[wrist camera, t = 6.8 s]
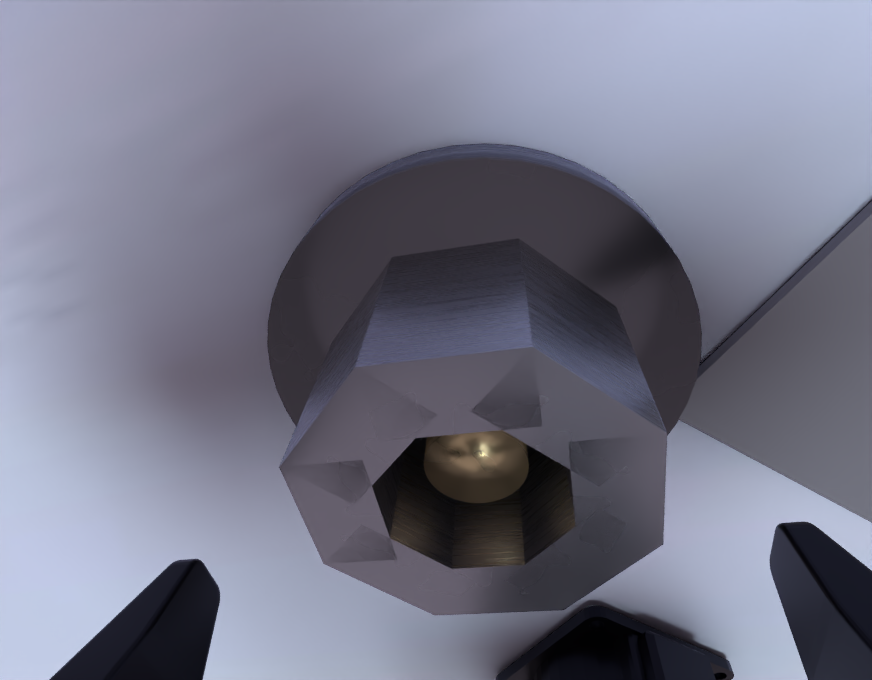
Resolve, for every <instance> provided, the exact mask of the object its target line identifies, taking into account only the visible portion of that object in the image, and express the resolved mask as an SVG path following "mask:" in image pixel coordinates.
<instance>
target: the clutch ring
mask: <svg viewBox="0 0 872 680" xmlns="http://www.w3.org/2000/svg"><path fill="white" fill-rule="evenodd" d="M498 430H503V431H505V432H507V433H508V434H510V435H512V436H513V437H515V438H517V439H519V440H520V441H522V442H524V443H525V444H527V451H528V462H529V470H528V475H527V477H526V480H525V481H524V483H523V484H522V485H521V487H520V488H519V489H518V490H517V491H515V492H514V493H512V494H511V495H509V496H507V497H505V498H503V499H500V500H497V501H493V502H488V503H469V502H463V501H459V500H456V499H453V498H450V497H448V496H446V495H444V494H443V493H441V492H440V491H438V490H437V489H436V488H435V487H434V486H433V485H432V484H431V483H430V481H429V480H428V478H427V476H426V473H425V470H424V456H425V448H426V441H427V437H433V436H443V435H454V434H465V433H476V432H487V431H498ZM666 448H667V432H666V429H665V427H664V424H663V422H662V419H661V417H660V414H659V412H658V409H657V407H656V404H655V402H654V399H653V397H652V394H651V392H650V389H649V387H648V384H647V382H646V379H645V377H644V374H643V372H642V369H641V367H640V364H639V362H638V359H637V357H636V354H635V352H634V350H633V347H632V345H631V342H630V340H629V337H628V335H627V332H626V330H625V327H624V325H623V322H622V320H621V317H620V315H619V312H618V310H617V307H616V306H614V305H613V304H612V303H610V302H609V301H607V300H606V299H604V298H603V297H602V296H600V295H599V294H597V293H596V292H594V291H593V290H592V289H590V288H589V287H587V286H586V285H584V284H583V283H582V282H580V281H579V280H577V279H576V278H574V277H573V276H572V275H570V274H569V273H567V272H566V271H565V270H563V269H562V268H560V267H559V266H557V265H556V264H555V263H553V262H552V261H550V260H549V259H547V258H546V257H545V256H543V255H542V254H540V253H539V252H537V251H536V250H535V249H533V248H532V247H530V246H529V245H527V244H526V243H525V242H523V241H522V240H520V239H519V238H518V239H511V240H504V241H497V242H491V243H484V244H477V245H470V246H463V247H457V248H450V249H443V250H436V251H429V252H422V253H416V254H409V255H402V256H395V257H392V258H391V259H390V260H389V262H388V263H387V265H386V266H385V268H384V269H383V270H382V272H381V273H380V275H379V276H378V278H377V279H376V280H375V282H374V283H373V285H372V286H371V287H370V289H369V290H368V292H367V293H366V295H365V296H364V297H363V299H362V300H361V302H360V303H359V305H358V306H357V307H356V309H355V310H354V312H353V313H352V314H351V316H350V317H349V319H348V320H347V322H346V323H345V324H344V326H343V327H342V329H341V330H340V332H339V333H338V334H337V336H336V337H335V339H334V340H333V341H332V343H331V346H330V348H329V350H328V353H327V355H326V357H325V360H324V362H323V365H322V367H321V369H320V372H319V374H318V376H317V379H316V381H315V383H314V386H313V388H312V391H311V393H310V395H309V398H308V400H307V402H306V405H305V407H304V410H303V412H302V414H301V417H300V419H299V421H298V424H297V426H296V429H295V431H294V433H293V436H292V438H291V440H290V443H289V445H288V447H287V450H286V452H285V455H284V457H283V459H282V462H281V464H280V466H279V468H280V470H281V472H282V474H283V476H284V478H285V481H286V483H287V485H288V487H289V489H290V492H291V494H292V496H293V498H294V500H295V502H296V505H297V507H298V509H299V511H300V513H301V515H302V518H303V520H304V522H305V524H306V526H307V528H308V531H309V533H310V535H311V537H312V539H313V541H314V544H315V546H316V548H317V550H318V552H319V554H320V557H321V559H322V561H323V563H324V564H325V565H328V566H330V567H332V568H334V569H336V570H338V571H341V572H343V573H345V574H347V575H349V576H351V577H353V578H356V579H358V580H360V581H362V582H364V583H366V584H369V585H371V586H373V587H375V588H377V589H379V590H381V591H384V592H386V593H388V594H390V595H392V596H394V597H397V598H399V599H401V600H403V601H405V602H407V603H409V604H412V605H414V606H416V607H418V608H420V609H422V610H425V611H427V612H429V613H431V614H433V615H453V614H477V613H502V612H527V611H552V610H564V609H566V608H567V607H569V606H570V605H572V604H573V603H575V602H576V601H578V600H580V599H581V598H583V597H584V596H586V595H587V594H589V593H590V592H592V591H593V590H595V589H596V588H598V587H599V586H601V585H602V584H604V583H605V582H607V581H608V580H610V579H611V578H613V577H614V576H616V575H617V574H619V573H620V572H622V571H623V570H625V569H626V568H628V567H629V566H631V565H632V564H634V563H635V562H637V561H639V560H640V559H642V558H643V557H645V556H646V555H648V554H649V553H651V552H652V551H654V550H655V549H657V548H658V547H660V546H661V545H663V531H664V503H665V476H666Z"/></svg>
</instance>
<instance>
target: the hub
mask: <svg viewBox="0 0 872 680" xmlns="http://www.w3.org/2000/svg"><path fill="white" fill-rule="evenodd" d="M518 238H519V239H520V240H522V241H523V242H525V243H526V244H527V245H529V246H530V247H532V248H533V249H535V250H536V251H537V252H539V253H540V254H542V255H543V256H545V257H546V258H547V259H549V260H550V261H552V262H553V263H555V264H556V265H557V266H559V267H560V268H562V269H563V270H565V271H566V272H567V273H569V274H570V275H572V276H573V277H574V278H576V279H577V280H579V281H580V282H582V283H583V284H584V285H586V286H587V287H589V288H590V289H592V290H593V291H594V292H596V293H597V294H599V295H600V296H602V297H603V298H604V299H606V300H607V301H609V302H610V303H612V304H613V305H614V306H616V307H617V310H618V312H619V315H620V317H621V320H622V322H623V325H624V327H625V330H626V332H627V335H628V337H629V340H630V342H631V345H632V347H633V350H634V352H635V354H636V357H637V359H638V362H639V364H640V367H641V369H642V372H643V374H644V377H645V379H646V382H647V384H648V387H649V389H650V392H651V394H652V397H653V399H654V402H655V404H656V407H657V409H658V412H659V414H660V417H661V419H662V422H663V424H664V427H665V429H666V432H667V435H668V434H669V433H670V431H671V430H672V429H673V427H674V426H675V425H676V423H677V421H678V420H679V418H680V416H681V414H682V412H683V411H684V409H685V407H686V405H687V403H688V401H689V398H690V395H691V393H692V390H693V387H694V385H695V382H696V378H697V373H698V368H699V363H700V359H701V337H702V333H701V325H700V317H699V309H698V305H697V302H696V299H695V296H694V292H693V289H692V286H691V283H690V281H689V279H688V277H687V275H686V273H685V271H684V269H683V267H682V265H681V263H680V261H679V259H678V257H677V256H676V255H675V253H674V252H673V250H672V249H671V247H670V246H669V244H668V243H667V242H666V240H665V239H664V237H663V236H662V234H661V233H660V232H659V230H658V229H657V228H656V226H655V225H654V223H653V222H652V221H651V219H650V218H649V217H648V215H647V214H646V213H645V212H644V211H643V210H642V209H641V208H640V207H639V206H638V205H637V204H636V203H635V202H634V201H633V200H632V199H631V198H630V197H629V196H628V195H627V194H626V193H624V192H623V191H622V190H620V189H619V188H617V187H616V186H615V185H613V184H612V183H611V182H609V181H608V180H607V179H605V178H604V177H602V176H600V175H598V174H596V173H595V172H593V171H591V170H589V169H587V168H585V167H583V166H581V165H580V164H578V163H575V162H572V161H570V160H567V159H564V158H561V157H559V156H556V155H553V154H550V153H547V152H543V151H538V150H533V149H528V148H524V147H519V146H510V145H496V144H472V145H456V146H449V147H444V148H439V149H434V150H429V151H424V152H420V153H418V154H415V155H412V156H409V157H406V158H403V159H400V160H397V161H394V162H392V163H390V164H388V165H386V166H384V167H382V168H380V169H378V170H377V171H375V172H373V173H371V174H369V175H367V176H365V177H364V178H363V179H361V180H360V181H358V182H357V183H356V184H354V185H353V186H351V187H350V188H348V189H347V190H346V191H344V192H343V193H342V194H341V195H340V196H339V197H338V198H337V199H336V200H335V201H334V202H333V203H332V204H330V205H329V206H328V207H327V208H326V209H325V210H324V211H323V213H322V214H321V215H320V217H319V218H318V219H317V220H316V222H315V223H314V224H313V226H312V227H311V228H310V229H309V231H308V232H307V234H306V235H305V236H304V238H303V239H302V241H301V242H300V244H299V245H298V246H297V248H296V249H295V251H294V252H293V254H292V256H291V258H290V259H289V261H288V263H287V265H286V267H285V268H284V270H283V272H282V274H281V276H280V279H279V282H278V284H277V287H276V290H275V293H274V296H273V298H272V304H271V309H270V314H269V320H268V353H269V360H270V368H271V371H272V375H273V378H274V382H275V385H276V389H277V391H278V393H279V396H280V398H281V400H282V402H283V405H284V407H285V409H286V411H287V412H288V414H289V416H290V417H291V419H292V420H293V422H294V424H295V425H296V426H297V424H298V421H299V419H300V417H301V414H302V412H303V410H304V407H305V405H306V402H307V400H308V398H309V395H310V393H311V391H312V388H313V386H314V383H315V381H316V379H317V376H318V374H319V372H320V369H321V367H322V365H323V362H324V360H325V357H326V355H327V353H328V350H329V348H330V346H331V343H332V341H333V340H334V339H335V337H336V336H337V334H338V333H339V332H340V330H341V329H342V327H343V326H344V324H345V323H346V322H347V320H348V319H349V317H350V316H351V314H352V313H353V312H354V310H355V309H356V307H357V306H358V305H359V303H360V302H361V300H362V299H363V297H364V296H365V295H366V293H367V292H368V290H369V289H370V287H371V286H372V285H373V283H374V282H375V280H376V279H377V278H378V276H379V275H380V273H381V272H382V270H383V269H384V268H385V266H386V265H387V263H388V262H389V260H390V259H391V258H392V257H395V256H402V255H409V254H416V253H422V252H429V251H436V250H443V249H450V248H457V247H463V246H470V245H477V244H484V243H491V242H497V241H504V240H511V239H518ZM424 470H425V473H426V476H427V478H428V480H429V481H430V483H431V484H432V485H433V486H434V487H435V488H436V489H437V490H438V491H440V492H441V493H443V494H444V495H446V496H448V497H450V498H453V499H456V500H459V501H463V502H469V503H488V502H493V501H497V500H500V499H503V498H505V497H507V496H509V495H511V494H512V493H514V492H515V491H517V490H518V489H519V488H520V487H521V485H522V484H523V483H524V481H525V480H526V477H527V475H528V470H529V462H528V451H527V444H525V443H524V442H522V441H520V440H519V439H517V438H515V437H513V436H512V435H510V434H508V433H507V432H505V431H503V430H498V431H487V432H476V433H465V434H454V435H443V436H433V437H427V441H426V448H425V456H424Z"/></svg>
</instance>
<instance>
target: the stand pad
mask: <svg viewBox="0 0 872 680" xmlns="http://www.w3.org/2000/svg"><path fill="white" fill-rule="evenodd" d="M679 420H681V421H683V422H684V423H686V424H688V425H690V426H692V427H694V428H696V429H698V430H699V431H701V432H703V433H705V434H707V435H709V436H711V437H713V438H714V439H716V440H718V441H720V442H722V443H724V444H726V445H727V446H729V447H731V448H733V449H735V450H737V451H739V452H741V453H742V454H744V455H746V456H748V457H750V458H752V459H754V460H756V461H757V462H759V463H761V464H763V465H765V466H767V467H769V468H771V469H772V470H774V471H776V472H778V473H780V474H782V475H784V476H786V477H787V478H789V479H791V480H793V481H795V482H797V483H799V484H801V485H802V486H804V487H806V488H808V489H810V490H812V491H814V492H816V493H817V494H819V495H821V496H823V497H825V498H827V499H829V500H831V501H832V502H834V503H836V504H838V505H840V506H842V507H844V508H846V509H847V510H849V511H851V512H853V513H855V514H857V515H859V516H861V517H862V518H864V519H866V520H868V521H870V522H872V201H871V202H870V203H869V204H868V205H867V206H866V207H865V208H864V209H863V210H862V211H861V212H860V213H859V214H858V215H857V216H855V217H854V218H853V219H852V220H851V221H850V222H849V223H848V224H847V225H846V226H845V227H844V228H843V229H842V230H841V231H840V232H839V233H838V234H837V235H836V236H835V237H834V238H833V239H831V240H830V241H829V242H828V243H827V244H826V245H825V246H824V247H823V248H822V249H821V250H820V251H819V252H818V253H817V254H816V255H815V256H814V257H813V258H812V259H811V260H810V261H809V262H808V263H806V264H805V265H804V266H803V267H802V268H801V269H800V270H799V271H798V272H797V273H796V274H795V275H794V276H793V277H792V278H791V279H790V280H789V281H788V282H787V283H786V284H785V285H784V286H782V287H781V288H780V289H779V290H778V291H777V292H776V293H775V294H774V295H773V296H772V297H771V298H770V299H769V300H768V301H767V302H766V303H765V304H764V305H763V306H762V307H761V308H760V309H759V310H757V311H756V312H755V313H754V314H753V315H752V316H751V317H750V318H749V319H748V320H747V321H746V322H745V323H744V324H743V325H742V326H741V327H740V328H739V329H738V330H737V331H736V332H735V333H733V334H732V335H731V336H730V337H729V338H728V339H727V340H726V341H725V342H724V343H723V344H722V345H721V346H720V347H719V348H718V349H717V350H716V351H715V352H714V353H713V354H712V355H711V356H710V357H708V358H707V359H706V360H705V361H704V362H703V363H702V364H701V365H700V366H699V368H698V373H697V378H696V382H695V385H694V387H693V390H692V393H691V395H690V398H689V401H688V403H687V405H686V407H685V409H684V411H683V412H682V414H681V416H680V418H679Z"/></svg>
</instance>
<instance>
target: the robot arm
mask: <svg viewBox="0 0 872 680" xmlns="http://www.w3.org/2000/svg"><path fill="white" fill-rule="evenodd" d="M770 569H771V573H772V577H773V580H774V583H775V586H776V588H777V591H778V594H779V597H780V600H781V603H782V606H783V609H784V612H785V614H786V617H787V620H788V623H789V626H790V629H791V632H792V635H793V638H794V641H795V643H796V646H797V649H798V652H799V655H800V658H801V661H802V664H803V667H804V669H805V672H806V675H807V678H808V680H872V571H871V570H870V569H869V568H867V567H866V566H865V565H864V564H862V563H861V562H860V561H859V560H857V559H856V558H855V557H854V556H852V555H851V554H850V553H849V552H847V551H846V550H845V549H844V548H842V547H841V546H840V545H839V544H837V543H836V542H835V541H834V540H832V539H831V538H830V537H829V536H827V535H826V534H825V533H824V532H822V531H821V530H820V529H819V528H817V527H816V526H815V525H813V524H811V523H808V522H791V523H781V524H779V525H778V526H777V527H776V530H775V534H774V539H773V544H772V549H771V554H770ZM219 603H220V591H219V587H218V585H217V584H216V582H215V581H214V579H213V577H212V576H211V574H210V573H209V571H208V570H207V568H206V566H205V565H204V563H203V562H202V561H200V560H198V559H188V560H178V561H175V562H173V563H172V564H171V565H169V566H168V567H167V568H166V569H165V570H164V571H163V572H162V573H161V574H160V575H159V576H158V577H157V578H156V579H155V580H154V581H153V582H152V583H150V584H149V585H148V586H147V587H146V588H145V589H144V590H143V591H142V592H141V593H140V594H139V595H138V596H137V597H136V598H135V599H134V600H133V601H132V602H130V603H129V604H128V605H127V606H126V607H125V608H124V609H123V610H122V611H121V612H120V613H119V614H118V615H117V616H116V617H115V618H114V619H113V620H112V621H111V622H109V623H108V624H107V625H106V626H105V627H104V628H103V629H102V630H101V631H100V632H99V633H98V634H97V635H96V636H95V637H94V638H93V639H92V640H91V641H89V642H88V643H87V644H86V645H85V646H84V647H83V648H82V649H81V650H80V651H79V652H78V653H77V654H76V655H75V656H74V657H73V658H72V659H71V660H69V661H68V662H67V663H66V664H65V665H64V666H63V667H62V668H61V669H60V670H59V671H58V672H57V673H56V674H55V675H54V676H53V677H52V678H51V679H50V680H203V675H204V671H205V666H206V662H207V657H208V653H209V648H210V644H211V639H212V635H213V630H214V625H215V621H216V616H217V612H218V607H219ZM733 677H734V674H733V671H732V668H731V665H730V663H729V661H728V660H726V659H724V658H722V657H719V656H717V655H715V654H712V653H710V652H708V651H705V650H703V649H701V648H698V647H696V646H694V645H691V644H689V643H687V642H684V641H682V640H680V639H677V638H675V637H673V636H670V635H668V634H666V633H663V632H661V631H659V630H656V629H654V628H652V627H649V626H647V625H645V624H642V623H640V622H638V621H635V620H633V619H631V618H628V617H626V616H624V615H621V614H619V613H617V612H614V611H612V610H610V609H607V608H605V607H602V606H590V607H587V608H585V609H583V610H582V611H580V612H579V613H578V614H577V615H575V616H574V617H573V618H571V619H570V620H569V621H567V622H566V623H565V624H564V625H562V626H561V627H560V628H558V629H557V630H556V631H555V632H553V633H552V634H551V635H549V636H548V637H547V638H545V639H544V640H543V641H542V642H540V643H539V644H538V645H536V646H535V647H534V648H532V649H531V650H530V651H529V652H527V653H526V654H525V655H523V656H522V657H521V658H519V659H518V660H517V661H516V662H514V663H513V664H512V665H510V666H509V667H508V668H506V669H505V670H504V671H503V672H501V673H500V674H499V675H498V676H497V677H496V680H731V679H733Z"/></svg>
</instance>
